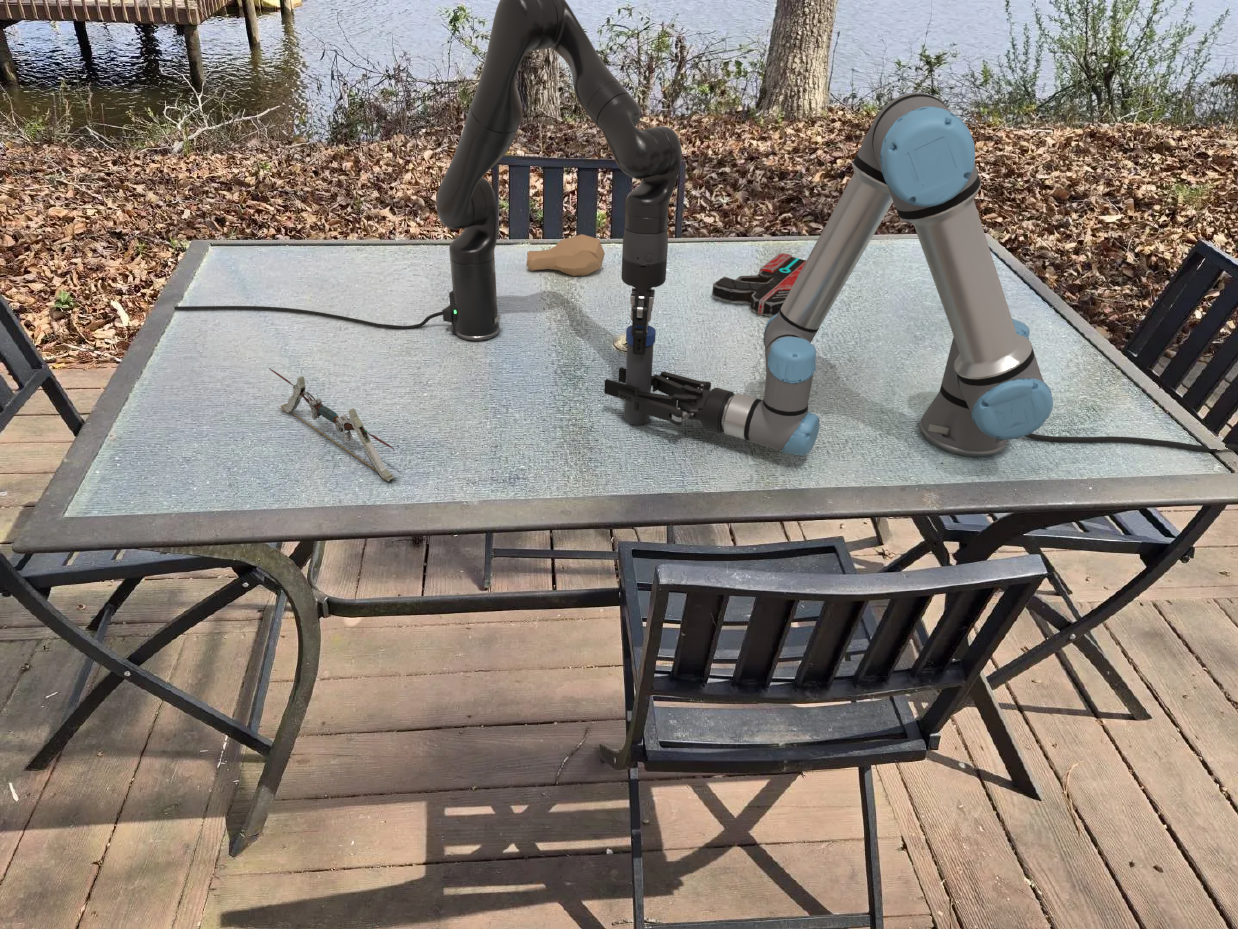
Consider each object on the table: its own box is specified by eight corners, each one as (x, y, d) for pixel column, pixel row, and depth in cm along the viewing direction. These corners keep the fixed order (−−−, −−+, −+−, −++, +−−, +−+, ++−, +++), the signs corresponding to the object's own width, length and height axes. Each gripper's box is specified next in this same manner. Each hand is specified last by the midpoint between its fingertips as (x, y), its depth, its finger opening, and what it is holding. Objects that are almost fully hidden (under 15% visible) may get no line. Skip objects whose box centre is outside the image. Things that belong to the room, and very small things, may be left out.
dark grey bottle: (640, 410, 166) (644, 325, 157) (654, 420, 163) (659, 334, 153) (619, 416, 164) (622, 330, 155) (633, 427, 161) (637, 340, 151)
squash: (606, 279, 220) (601, 247, 214) (527, 286, 222) (521, 255, 215) (606, 257, 228) (602, 226, 222) (531, 264, 229) (524, 233, 223)
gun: (708, 284, 207) (784, 305, 199) (760, 245, 229) (831, 262, 221) (706, 302, 209) (781, 323, 201) (758, 261, 231) (828, 278, 223)
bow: (404, 484, 144) (397, 432, 138) (395, 489, 143) (388, 437, 137) (282, 401, 165) (271, 354, 160) (273, 405, 164) (262, 357, 158)
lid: (634, 332, 158) (635, 321, 157) (660, 339, 156) (660, 328, 155) (620, 342, 154) (620, 331, 153) (646, 349, 152) (646, 339, 151)
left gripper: (626, 238, 152) (622, 328, 162) (618, 268, 140) (615, 363, 150) (669, 241, 152) (663, 331, 161) (665, 271, 140) (659, 366, 149)
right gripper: (706, 455, 149) (588, 418, 158) (745, 410, 162) (634, 378, 171) (710, 416, 144) (588, 381, 153) (750, 373, 158) (635, 343, 167)
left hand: (640, 346), depth 155 cm, fingers closed on lid, 5 cm apart
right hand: (612, 380), depth 162 cm, fingers closed on dark grey bottle, 5 cm apart
